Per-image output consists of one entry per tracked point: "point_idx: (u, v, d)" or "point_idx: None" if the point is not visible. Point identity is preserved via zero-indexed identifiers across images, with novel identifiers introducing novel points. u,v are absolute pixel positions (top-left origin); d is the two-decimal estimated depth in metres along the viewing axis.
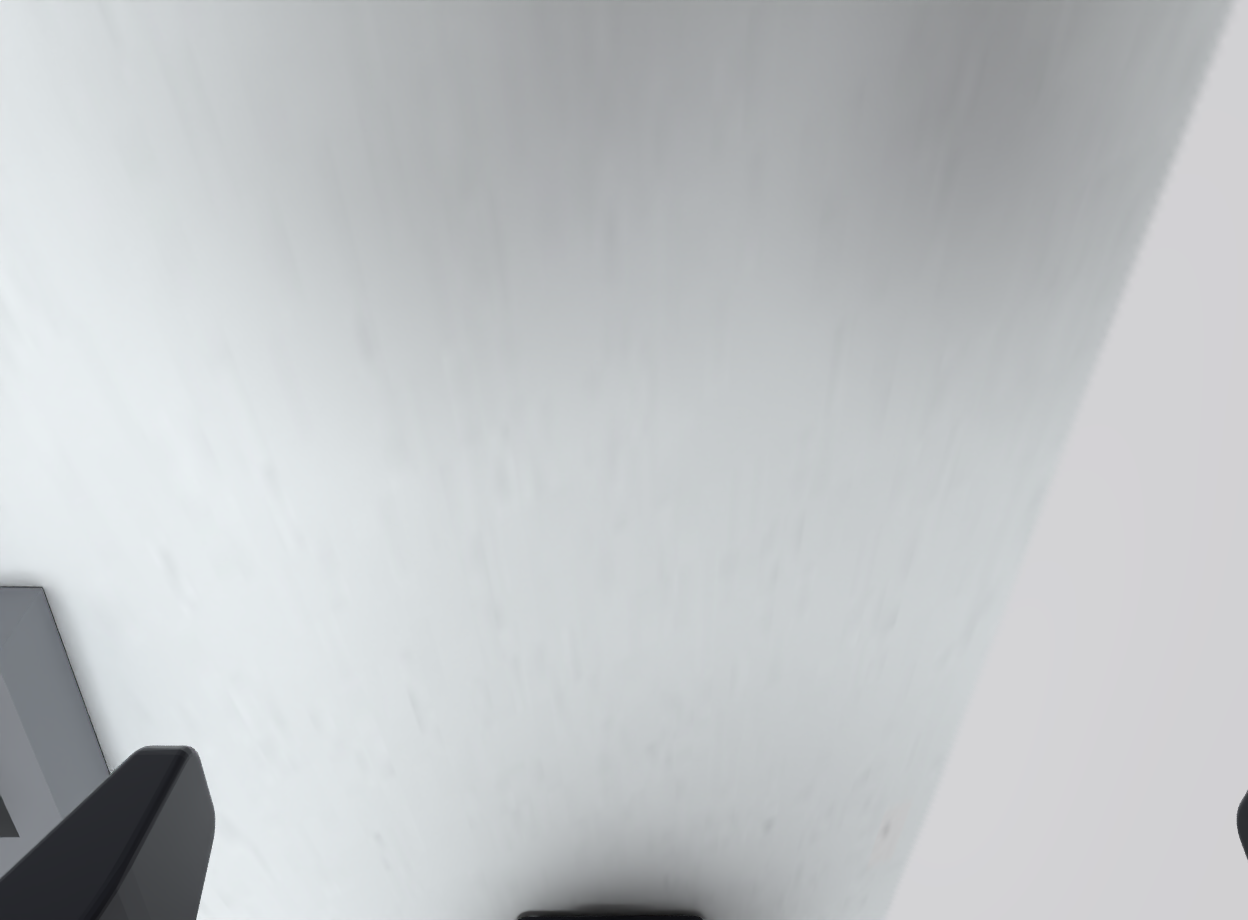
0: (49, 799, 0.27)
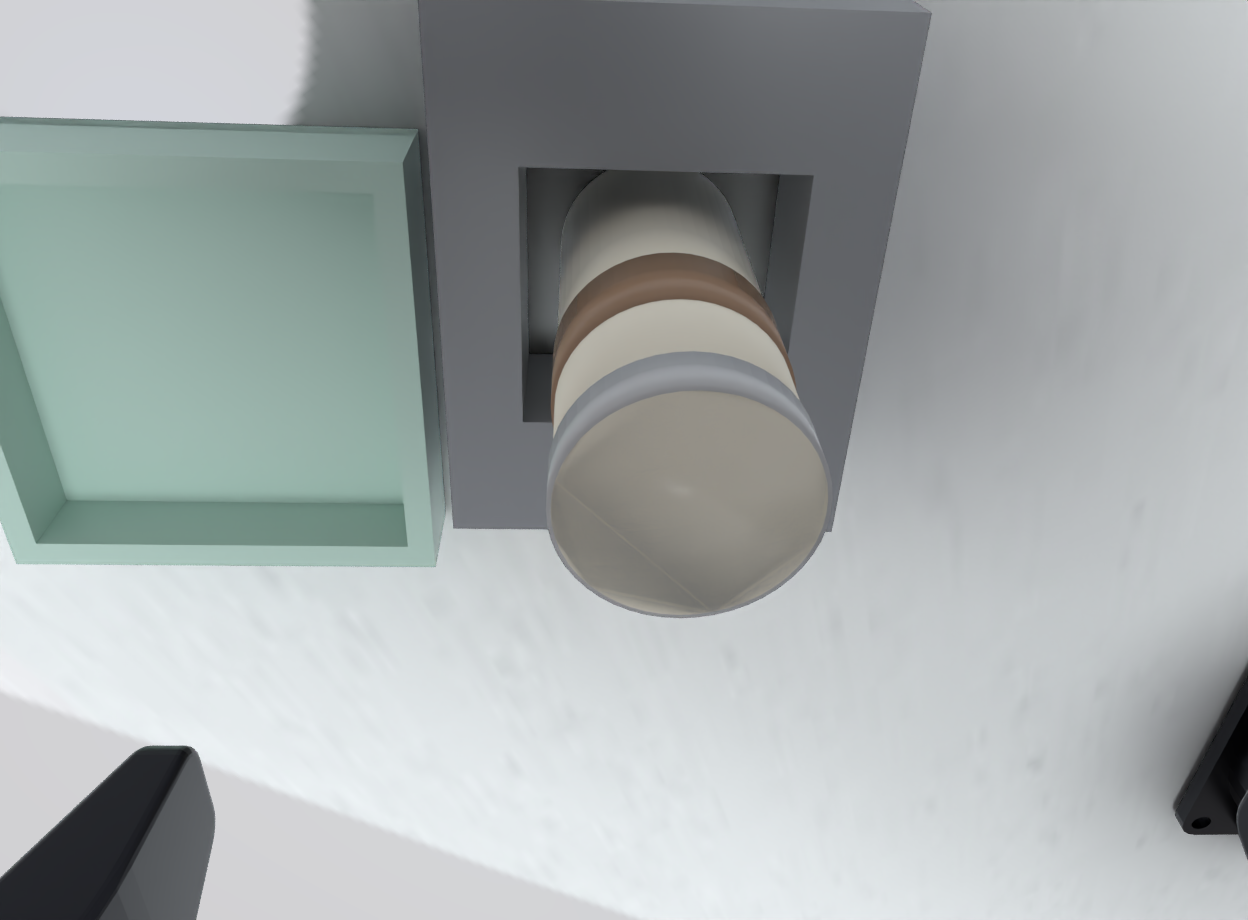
0: (860, 345, 0.17)
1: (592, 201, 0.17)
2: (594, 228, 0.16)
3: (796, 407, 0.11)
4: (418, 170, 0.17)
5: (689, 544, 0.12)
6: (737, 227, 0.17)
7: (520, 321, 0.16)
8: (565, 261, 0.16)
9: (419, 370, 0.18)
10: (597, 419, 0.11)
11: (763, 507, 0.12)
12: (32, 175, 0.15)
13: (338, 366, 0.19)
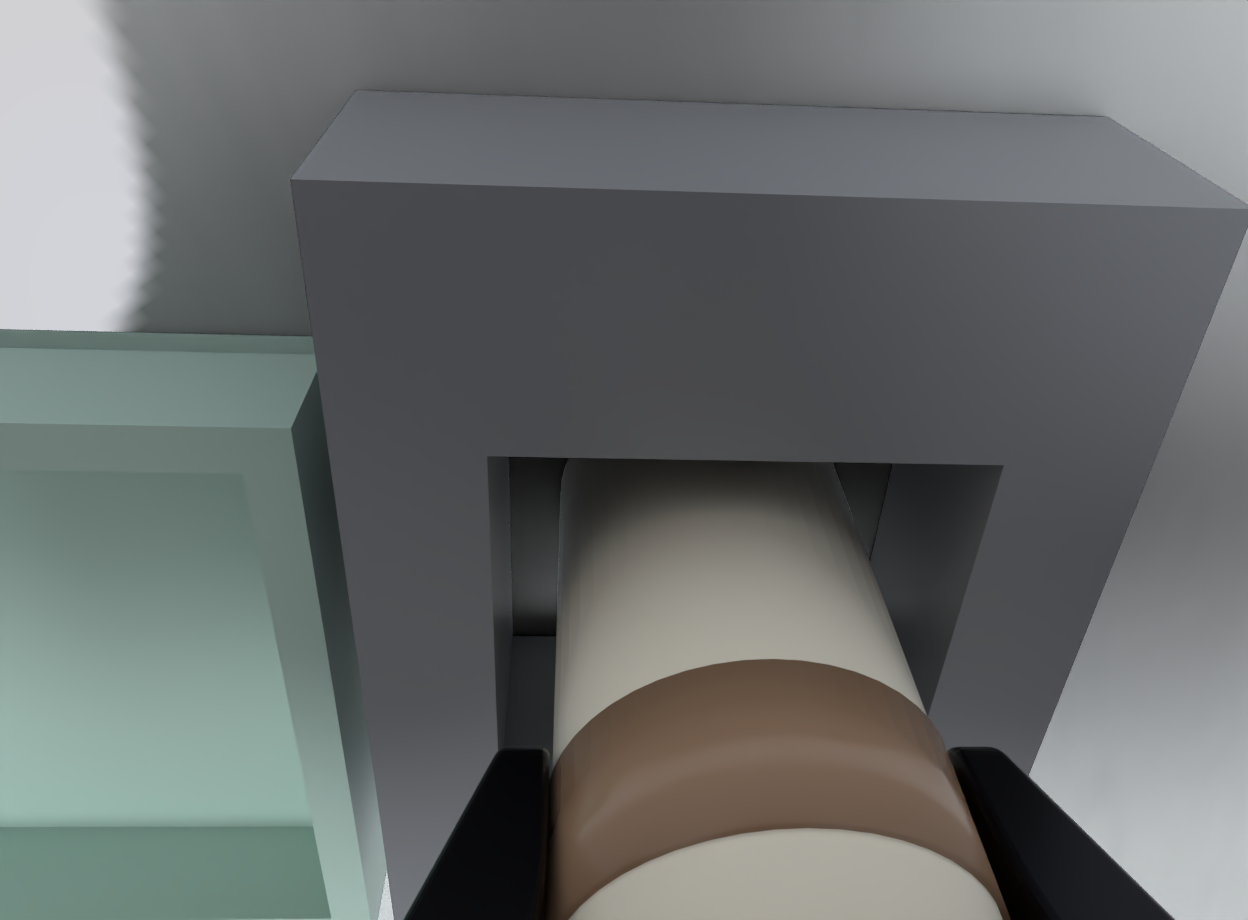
0: (1048, 697, 0.10)
1: None
2: (618, 535, 0.09)
3: None
4: None
5: None
6: (843, 491, 0.11)
7: (494, 669, 0.10)
8: (567, 574, 0.10)
9: (336, 709, 0.11)
10: None
11: None
12: None
13: (223, 663, 0.13)
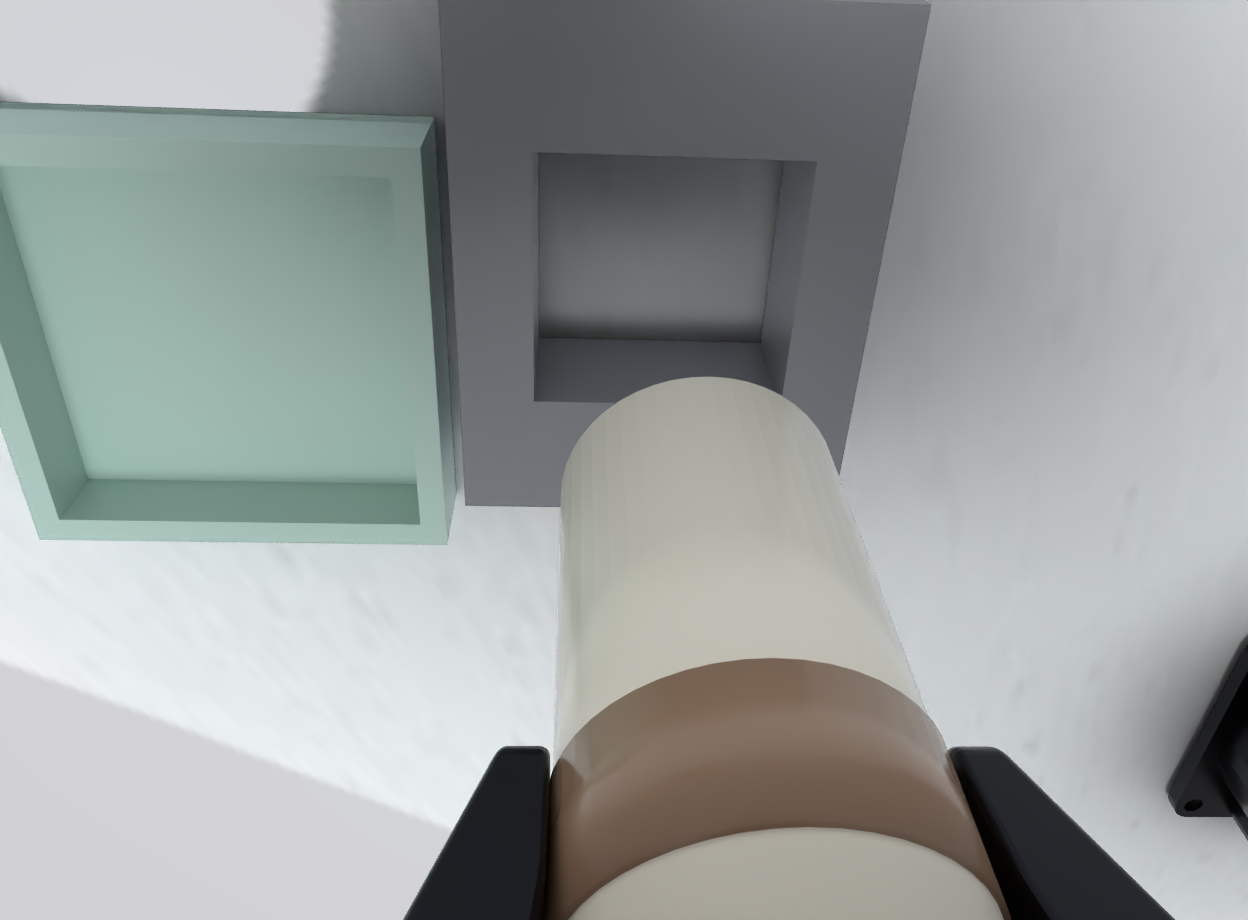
0: (861, 328, 0.17)
1: (611, 456, 0.10)
2: (619, 534, 0.09)
3: None
4: (434, 157, 0.18)
5: None
6: None
7: (532, 302, 0.17)
8: (568, 573, 0.10)
9: (433, 351, 0.18)
10: None
11: None
12: (63, 158, 0.16)
13: (354, 348, 0.20)
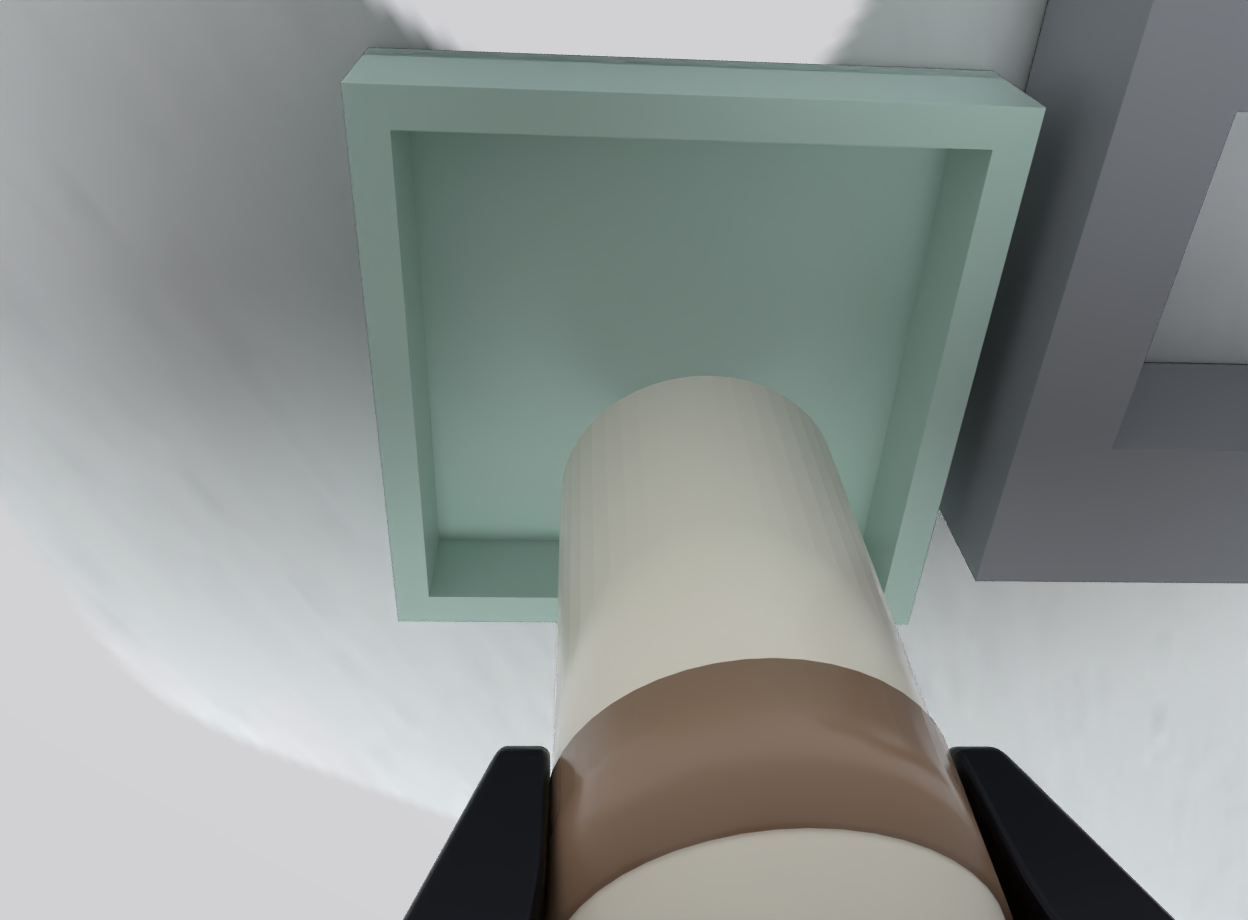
0: None
1: (611, 456, 0.10)
2: (619, 534, 0.09)
3: None
4: None
5: None
6: (844, 490, 0.11)
7: (1156, 319, 0.12)
8: (568, 573, 0.10)
9: (971, 382, 0.14)
10: None
11: None
12: (558, 123, 0.12)
13: (816, 376, 0.15)
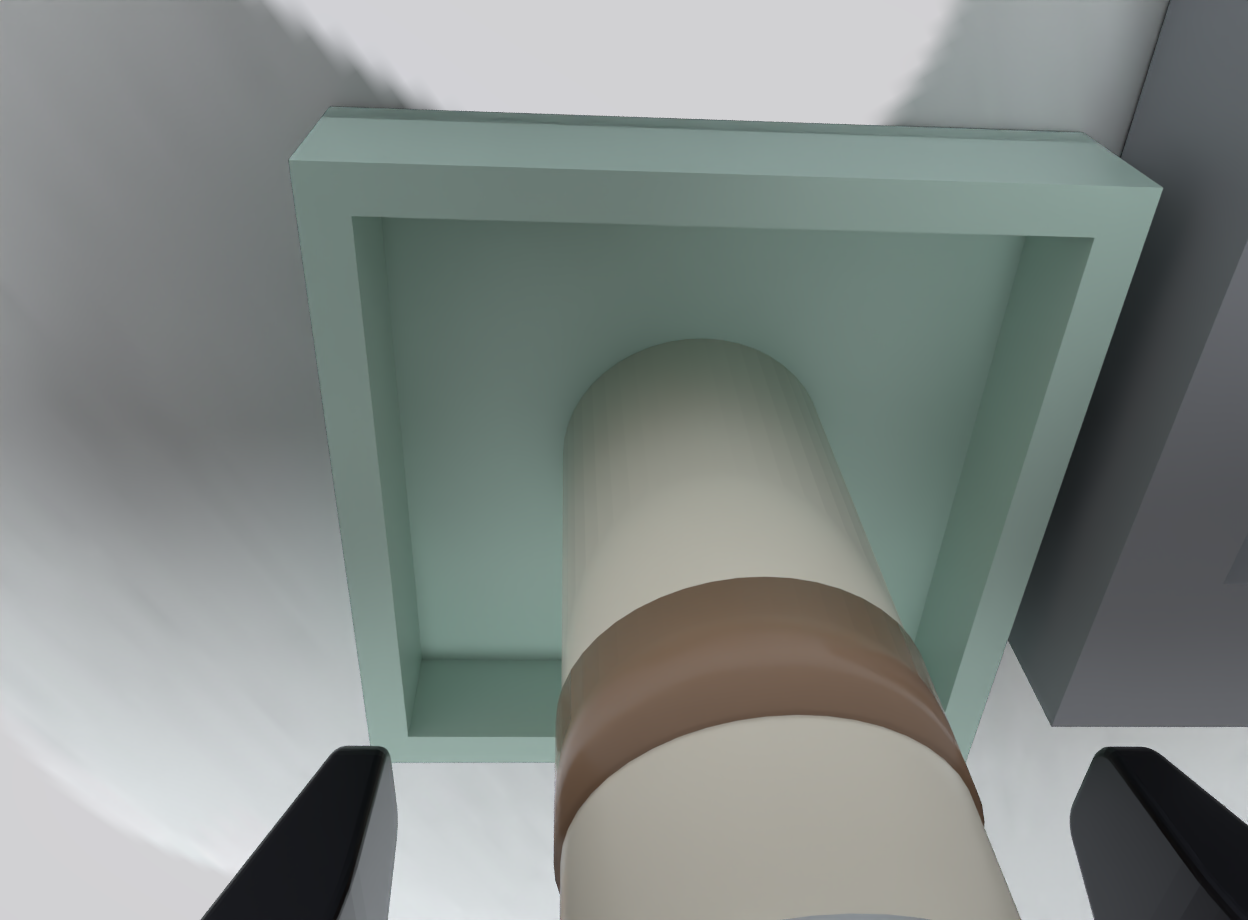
0: None
1: (611, 411, 0.11)
2: (620, 479, 0.10)
3: None
4: None
5: None
6: (829, 444, 0.11)
7: None
8: (572, 518, 0.10)
9: (1052, 502, 0.11)
10: None
11: None
12: (559, 207, 0.09)
13: (862, 481, 0.13)
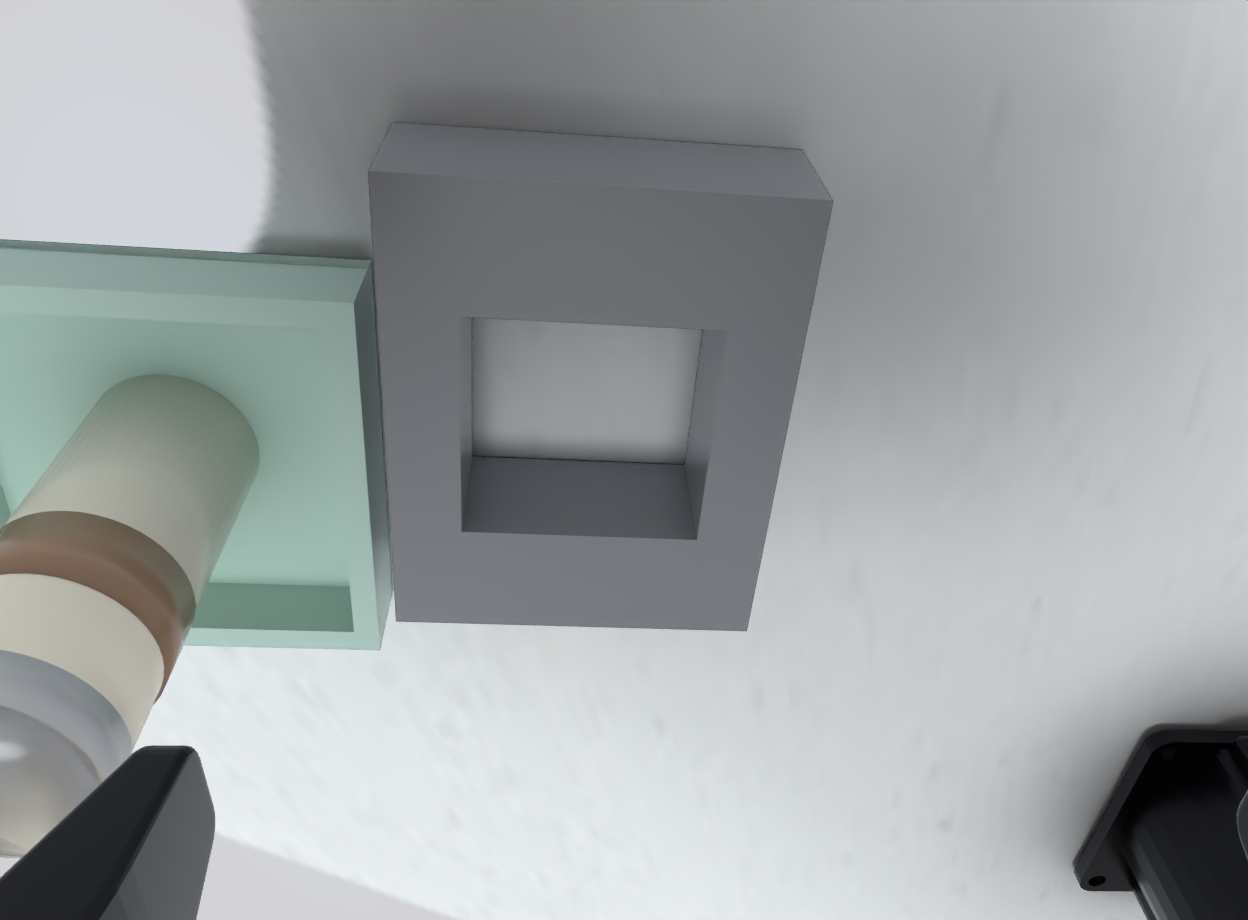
0: (772, 474, 0.18)
1: (86, 417, 0.18)
2: (56, 458, 0.17)
3: (62, 698, 0.13)
4: (370, 297, 0.18)
5: None
6: (230, 442, 0.19)
7: (460, 445, 0.18)
8: None
9: (367, 480, 0.19)
10: None
11: (44, 779, 0.13)
12: (7, 305, 0.17)
13: (292, 465, 0.20)
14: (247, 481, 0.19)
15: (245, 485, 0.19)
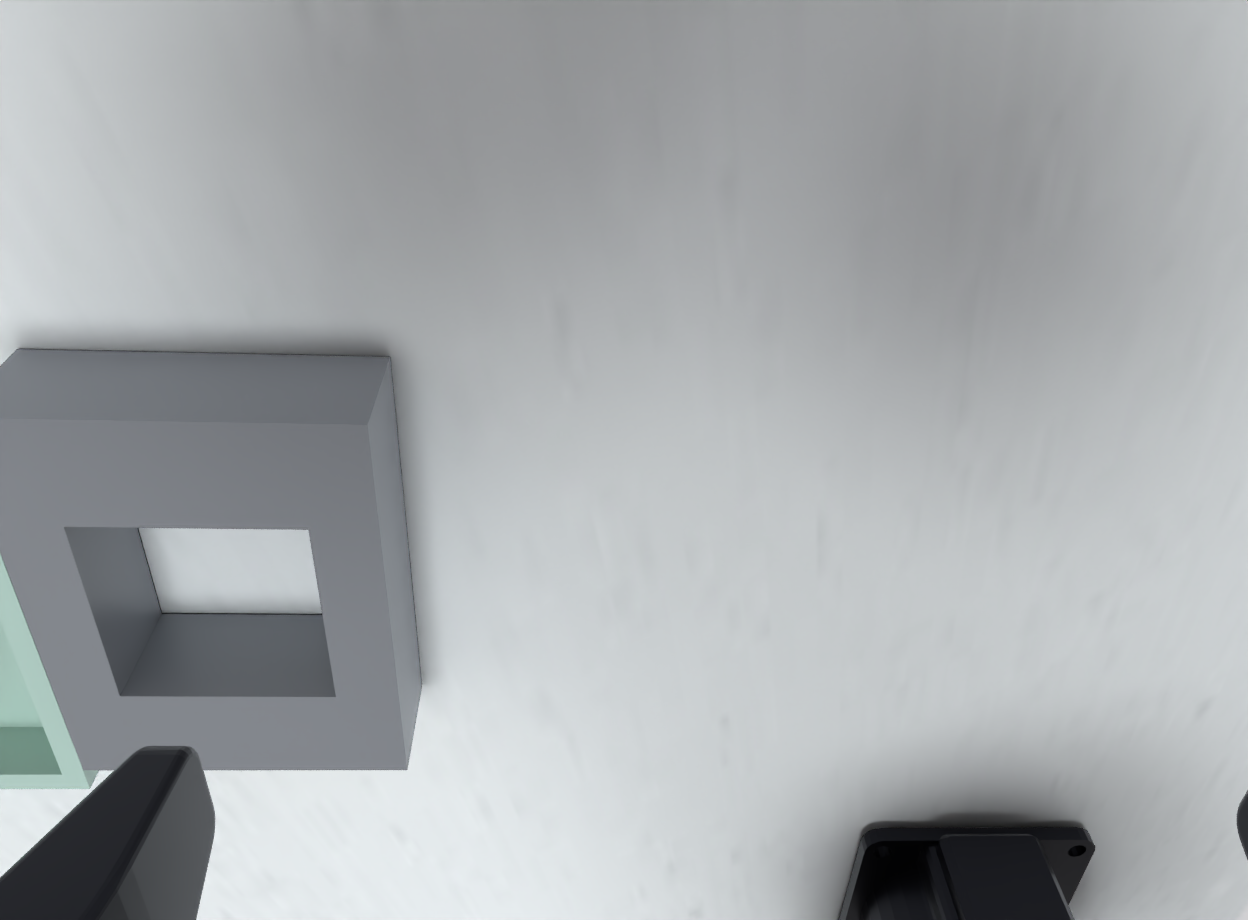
0: (387, 641, 0.20)
1: None
2: None
3: None
4: None
5: None
6: None
7: (98, 627, 0.20)
8: None
9: None
10: None
11: None
12: None
13: None
14: None
15: None
